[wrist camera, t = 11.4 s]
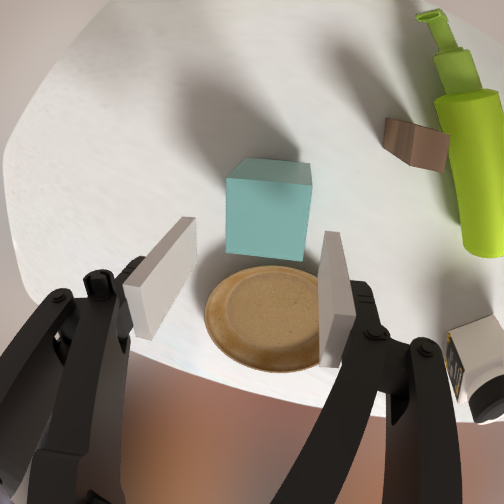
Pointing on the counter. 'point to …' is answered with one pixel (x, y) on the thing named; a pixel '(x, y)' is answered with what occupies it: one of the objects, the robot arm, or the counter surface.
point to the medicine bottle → (478, 367)
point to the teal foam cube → (268, 208)
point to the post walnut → (416, 144)
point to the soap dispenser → (471, 141)
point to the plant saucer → (266, 318)
